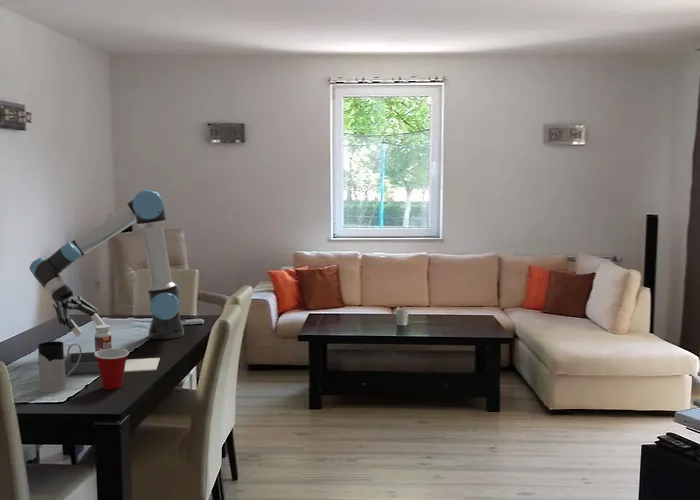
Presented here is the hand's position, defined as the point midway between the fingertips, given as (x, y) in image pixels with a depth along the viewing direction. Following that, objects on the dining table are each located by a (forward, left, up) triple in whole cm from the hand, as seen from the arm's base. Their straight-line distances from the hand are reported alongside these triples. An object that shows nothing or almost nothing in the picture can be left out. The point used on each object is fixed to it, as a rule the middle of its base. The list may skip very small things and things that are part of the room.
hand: (91, 330), depth 269 cm
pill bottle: (-4, +2, -10) cm, 11 cm away
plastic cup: (-14, +48, -10) cm, 51 cm away
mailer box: (-11, +22, -9) cm, 26 cm away
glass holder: (+3, +44, -10) cm, 45 cm away
